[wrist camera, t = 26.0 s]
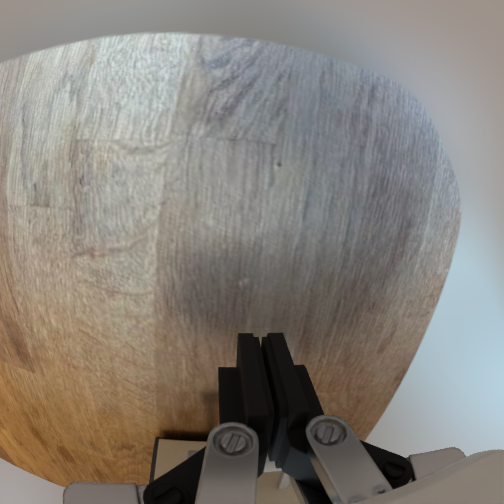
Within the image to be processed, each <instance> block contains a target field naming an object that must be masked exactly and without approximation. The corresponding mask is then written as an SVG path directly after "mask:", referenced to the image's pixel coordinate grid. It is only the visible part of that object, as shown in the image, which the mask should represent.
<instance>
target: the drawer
mask: <svg viewBox="0 0 504 504" xmlns="http://www.w3.org/2000/svg"><path fill="white" fill-rule="evenodd" d="M206 444H207V442H196V441H178V440H165V439H159V444H158V451H157V459H156V467H155V475H154V480H155V479H157V478H159V477H160V476H162V475H163V474H165V473H167V472H168V471H170V470H171V469H173V468H174V467H176V466H177V465H179V464H180V463H182V462H183V461H185V460H186V459H188V458H189V457H191V456H192V455H194V454H195V453H196V452H198V451H199V450H201V449H202V448H203V447H205V446H206ZM256 504H300V502H299V500H298V498H297V495H296V493H295V491H294V489H293V486H292V484H291V482H290V478H289V475H287V474H285V473H284V472H282V469H281V468H277V469H276V466H275V461H273V462H270V461H269V458H268V454H267V458H266V463H265V467H264V472H263V474H262V475H261V476H260V477H259V478H258V479H257V497H256Z"/></svg>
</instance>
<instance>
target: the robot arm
mask: <svg viewBox="0 0 504 504" xmlns="http://www.w3.org/2000/svg"><path fill="white" fill-rule="evenodd" d="M218 381H219V422H220V425H218V426H216V427H215V428H214V429H213V430H212V431H211V432H210V434H209V436H208V439H207V444H206V446H205V447H203V448H202V449H201V450H199V451H198V452H196V453H195V454H194V455H192V456H191V457H189V458H188V459H186V460H185V461H183V462H182V463H180V464H179V465H177V466H176V467H174V468H173V469H171V470H170V471H168V472H167V473H165V474H163V475H162V476H160V477H159V478H157V479H155V480H154V481H152V482H151V483H150V484H148V485H136V483H95V482H73V483H71V484H69V485H67V487H66V488H65V489H64V493H63V504H256V497H257V479H258V478H259V477H260V476H261V475H262V474H263V472H264V467H265V463H266V458H267V454H268V458H269V461H270V462H273V461H275V466H276V469H277V468H281V469H282V472H284V473H285V474H287V475H289V478H290V482H291V484H292V486H293V489H294V491H295V493H296V495H297V498H298V500H299V502H300V504H504V450H488V451H484V452H479V453H475V454H472V455H470V456H467V457H466V456H465V455H464V453H463V452H462V451H461V450H460V449H458V448H455V447H451V448H445V449H441V450H436V451H431V452H425V453H420V454H413V455H409V457H408V458H404V457H402V456H400V455H397V454H395V453H392V452H389V451H387V450H384V449H381V448H379V447H376V446H373V445H371V444H368V443H366V442H363V441H361V440H359V439H358V437H357V436H356V434H355V433H354V431H353V430H352V428H351V427H350V425H349V424H348V423H347V422H346V421H345V420H343V419H342V418H340V417H337V416H334V415H324V412H323V410H322V407H321V405H320V402H319V400H318V397H317V395H316V392H315V390H314V387H313V384H312V382H311V379H310V377H309V374H308V372H307V369H306V367H305V366H304V365H294V363H293V360H292V357H291V355H290V352H289V349H288V346H287V343H286V340H285V337H284V335H283V333H268V334H267V337H262V343H261V346H260V341H259V337H253V333H238V341H237V364H236V367H218Z"/></svg>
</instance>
